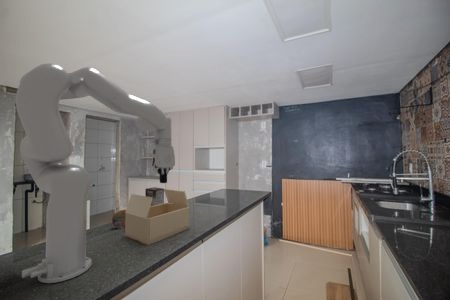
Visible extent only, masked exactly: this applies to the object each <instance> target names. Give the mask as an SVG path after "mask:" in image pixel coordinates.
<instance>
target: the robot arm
mask: <svg viewBox="0 0 450 300" xmlns="http://www.w3.org/2000/svg"><path fill="white" fill-rule="evenodd" d="M85 97H91V98H93V99H94V100H96V101H98V102H99V103H100V104H102V105H103V106H105V107H107V108H108V109H110V110H111V111H113V112H115V113H118V114H123V115H130V116H135V117H136V118H135V122H134V124H135V127H136V128H137V129H138V130H139V131H142V132H153V133H154V140H152V144H154V146H153V148H152V152H151V166H152V171H155V172H157V173H158V175H159V183H160V184H167V183H168V175H169V172H170V171H172V170H173V169H174V167H175V165H176V157H175V149H174V146H172V119H171V117H170V116H167V115H165V114H166V113H164V112H163V111H162V110H160V109H159V108H158V106H156V105H155V104H153V103H152V102H149V101H147V100H145V99H143V98H140V97H137V96H135V95H133V94H130V93H129V92H127V91H125V90H124V89H123V88H121V87H120V86H119V85H117V84H116V83H115V82H114V81H112V80H111V79H110V78H108V77H107V76H105V75H104V74H103V73H102V72H101V71H99V70H98V69H96V68H94V67H89V66H86V67H82V68H80V69H77V70H74V71H73V72H67V71H66V69H64V67H63V66H60V65H58V64H56V63H49V62H48V63H42V64H40V65H37V66H35V67H34V68H33V69H31V70H29V71H28V72H26V73H25V74H23V75H22V76H21V78H20V80H19V85H18V88H17V90H16V95H15V107H16V112H17V114H18V117H19V120H20V122H21V125H22V127H23V130H24V132H25V134H26V136H24V137H23V138H22V140H21V141H20V145H19V150H20V155H21V157H22V160H23V161H24V163H25V165H26V168H27V169H28V171H29V173H30V175H31V177H32V179H33V181H34V183H35V185H36V186H37V188H38V189H39V190H41V191H42V192H44V193H47V194H49V199H48V203H47V206H46V218H45V219H46V227H45V229H46V230H45V258H42V259H41V262H40V263H38V264H37V265H35V266H33V267H29V268H26V269H23V270H21V278H22V279H24V278H27V277H30V278H31V279H32V278H36V277H37V281H38V282H40V283H43V284H53V283H59V282H64V281H69V280H70V279H73V278H75V277H77V276H80V275H82V274H83V273H85V272H87V271H88V270H89V269H90V268H91V266H92V265H93V261H92V258H90V257H89V256H87V223H88V222H87V217H88V216H87V215H88V213H87V211H88V210H87V208H88V196H89V192H90V187H91V177H90V174H89V172H88V171H87V170H86V169H85V168H84V167H82V166H80V165H76V164H71V163H70V164H67V162H66V160H68V159H69V158H70V157H71V156H72V154H73V150H74V146H73V143H72V139H71V138H70V136H69V134H68V133H69V132H68V130H67V128H66V126H65V124H64V121H63V118H62V114H61V113H60V106H59V105H60V101H61V100H73V99H81V98H85Z"/></svg>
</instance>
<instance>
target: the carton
mask: <svg viewBox="0 0 450 300" xmlns="http://www.w3.org/2000/svg"><path fill="white" fill-rule="evenodd" d="M124 230H125V231H124V233H125V234H124V236H125V238H129V239H131V240H133V241H136V242H139V243H141V244H143V245H145V246H151V245H152V244H155V243H157V242H159V241H162V240H165V239H167V238H169V237H171V236H174V235H177V234H179V233H181V232H183V231H186V230H190V207H189V206H188V207H187V206H182V205H176V204H171V203H168V202H164V203H163V204H159V205H155V206H150V209H149V212H148V215H147V219H145V218H142V217H138V216H135V215H131V214H128V213H126V218H125V228H124Z"/></svg>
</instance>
